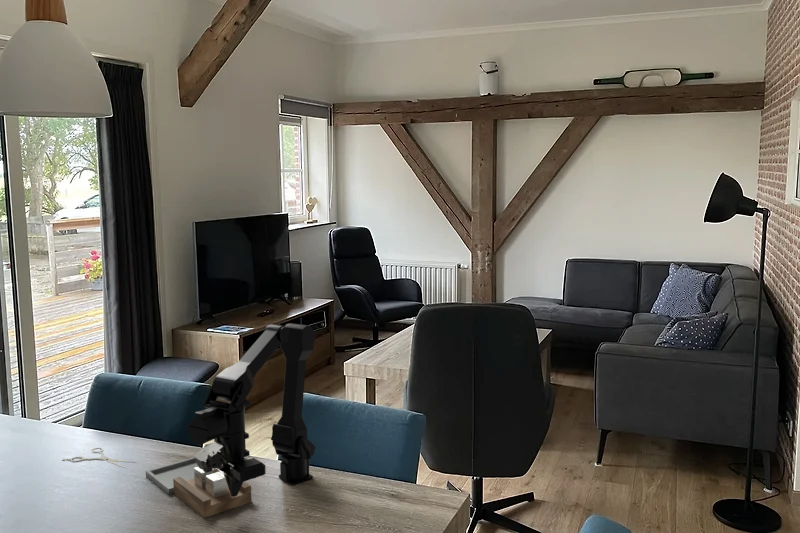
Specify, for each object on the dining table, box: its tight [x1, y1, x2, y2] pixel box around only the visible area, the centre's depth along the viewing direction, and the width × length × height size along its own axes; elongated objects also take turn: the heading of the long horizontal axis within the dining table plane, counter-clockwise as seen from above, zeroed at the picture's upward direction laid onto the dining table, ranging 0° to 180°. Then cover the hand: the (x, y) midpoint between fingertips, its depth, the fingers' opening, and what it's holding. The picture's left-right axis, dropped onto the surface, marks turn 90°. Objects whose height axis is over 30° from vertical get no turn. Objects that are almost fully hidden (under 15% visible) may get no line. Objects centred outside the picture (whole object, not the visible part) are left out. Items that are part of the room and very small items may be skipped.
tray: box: [145, 456, 198, 496], centre depth 178 cm, size 14×14×2 cm
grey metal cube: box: [194, 467, 217, 489], centre depth 169 cm, size 4×4×4 cm
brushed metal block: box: [205, 471, 230, 498], centre depth 164 cm, size 4×4×4 cm
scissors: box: [61, 447, 133, 469], centre depth 190 cm, size 11×1×20 cm
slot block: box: [173, 469, 253, 519], centre depth 167 cm, size 12×16×4 cm
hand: (234, 495), depth 158 cm, fingers closed
